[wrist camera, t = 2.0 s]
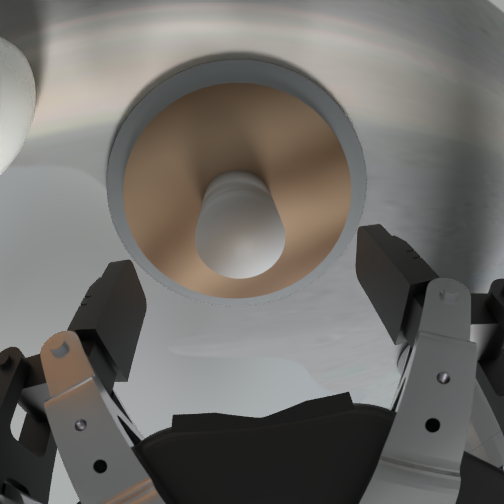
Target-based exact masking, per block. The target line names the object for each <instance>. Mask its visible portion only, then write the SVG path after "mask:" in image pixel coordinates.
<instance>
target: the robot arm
mask: <svg viewBox="0 0 504 504" xmlns="http://www.w3.org/2000/svg"><path fill="white" fill-rule="evenodd" d="M356 274H357V278H358V280H359V282H360V284H361V286H362V287H363V289H364V291H365V293H366V294H367V296H368V298H369V299H370V301H371V303H372V305H373V306H374V308H375V310H376V312H377V313H378V315H379V317H380V319H381V320H382V322H383V324H384V326H385V327H386V329H387V331H388V333H389V335H390V337H391V338H392V340H393V342H394V344H395V345H398V344H402V343H405V342H408V343H409V345H408V346H407V347H406V349H405V350H404V352H403V353H402V355H401V357H400V359H399V361H398V371H399V373H400V375H401V378H400V381H399V384H398V387H397V390H396V393H395V396H394V398H393V401H392V404H391V406H390V408H389V409H386V408H383V407H380V406H375V405H370V404H360V403H353V402H352V400H351V397H350V393H349V392H346V393H342V394H337V395H333V396H328V397H323V398H318V399H314V400H309V401H305V402H302V403H300V404H298V405H295V406H293V407H290V408H288V409H285V410H282V411H280V412H277V413H275V414H272V415H269V416H266V417H262V418H254V417H244V416H236V415H227V414H220V413H203V414H183V415H173V419H172V427H170V428H167V429H164V430H161V431H158V432H156V433H154V434H152V435H150V436H149V437H147V438H144V436H143V435H142V434H141V432H140V431H139V430H138V428H137V427H136V425H135V423H134V422H133V420H132V419H131V417H130V415H129V414H128V412H127V411H126V409H125V407H124V406H123V404H122V402H121V401H120V399H119V397H118V396H117V394H116V392H115V391H114V390H113V386H114V382H127V381H128V378H129V373H130V369H131V365H132V361H133V357H134V353H135V350H136V346H137V342H138V338H139V335H140V331H141V327H142V324H143V320H144V317H145V313H146V298H145V295H144V292H143V290H142V286H141V284H140V281H139V279H138V276H137V273H136V270H135V268H134V265H133V263H132V262H131V260H123V261H117V262H111V263H109V264H108V266H107V268H106V270H105V272H104V273H103V275H102V277H101V278H99V279H98V280H96V282H94V283H93V284H92V285H91V286H90V288H89V290H88V291H87V293H86V295H85V298H84V299H83V301H82V302H81V306H79V308H78V310H77V312H76V314H75V316H74V318H73V320H72V322H71V323H70V325H69V327H68V330H67V331H62V332H59V333H57V334H55V335H53V336H52V337H50V338H49V339H48V340H47V341H46V342H45V343H44V345H43V347H42V349H41V352H40V354H38V355H35V356H31V357H28V358H25V356H24V355H23V354H22V352H21V351H20V350H19V349H18V348H17V347H9V348H7V349H5V350H3V351H2V352H1V353H0V504H48V500H49V492H50V485H51V479H52V472H53V467H54V462H55V457H56V451H57V448H58V451H59V453H60V456H61V458H62V461H63V464H64V466H65V468H66V471H67V473H68V475H69V478H70V480H71V482H72V485H73V487H74V489H75V491H76V493H77V495H78V497H79V500H80V501H79V502H78V503H77V504H504V279H497V280H495V281H493V282H492V284H491V286H490V289H489V292H488V294H470V292H469V290H468V289H467V287H466V286H465V285H463V284H462V283H461V282H459V281H457V280H454V279H451V278H440V277H439V276H438V275H437V274H436V273H435V272H434V271H433V270H432V269H431V267H430V266H429V265H428V264H427V263H426V262H425V261H424V260H423V259H422V258H420V256H419V255H418V254H417V252H416V251H414V249H413V248H412V247H411V246H410V245H409V244H408V243H407V242H406V241H404V240H402V239H400V238H398V237H396V236H391V235H390V234H389V233H388V232H387V231H386V229H385V228H384V227H383V226H382V225H380V224H375V225H368V226H361V227H359V229H358V233H357V252H356ZM17 403H18V404H19V405H20V406H21V407H22V408H23V409H24V410H25V411H26V412H27V414H26V417H25V421H24V424H23V427H22V431H21V434H20V437H19V441H17V440H16V439H15V438H14V437H13V435H12V433H11V429H10V424H11V420H12V417H13V414H14V411H15V408H16V405H17Z"/></svg>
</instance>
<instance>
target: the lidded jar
mask: <svg viewBox="0 0 504 504" xmlns="http://www.w3.org/2000/svg"><path fill="white" fill-rule="evenodd" d="M35 101H36V89H35V80H34V76H33V72H32V70H31V67H30V65H29V62H28V60H27V59H26V57H25V56H24V54H23V53H22V52H21V51H20V50H19V49H18V48H17V47H16V46H15V45H14V44H13V43H11V42H9V41H7V40H5V39H3V38H2V37H0V174H2V173H3V172H4V171H5V169H6V168H7V167H8V166H9V165H10V164H11V163H12V161H13V160H14V158H15V157H16V156H17V154H18V153H19V151H20V150H21V148H22V146H23V144H24V142H25V140H26V137H27V135H28V132H29V130H30V127H31V124H32V120H33V116H34V111H35Z"/></svg>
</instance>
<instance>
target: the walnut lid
mask: <svg viewBox="0 0 504 504" xmlns="http://www.w3.org/2000/svg"><path fill="white" fill-rule="evenodd" d="M123 202H124V211H125V215H126V219H127V223H128V225H129V228H130V231H131V233H132V236H133V237H134V239H135V241H136V243H137V245H138V247H139V248H140V249H141V251H142V252H143V254H144V255H145V256H146V258H147V259H148V260H149V261H150V262H151V263H152V264H153V265H154V266H155V267H156V268H157V269H158V270H159V271H160V272H162V273H163V274H164V275H165V276H167V277H168V278H170V279H171V280H173V281H174V282H176V283H177V284H179V285H181V286H184V287H186V288H188V289H190V290H193V291H195V292H198V293H201V294H205V295H209V296H213V297H221V298H251V297H257V296H262V295H267V294H270V293H273V292H276V291H279V290H281V289H284V288H286V287H288V286H290V285H292V284H294V283H296V282H297V281H299V280H301V279H302V278H304V277H305V276H306V275H308V274H309V273H310V272H312V271H313V270H314V269H315V268H316V267H317V266H318V265H319V264H320V263H321V262H322V261H323V260H324V259H325V258H326V257H327V255H328V254H329V253H330V252H331V250H332V249H333V247H334V246H335V244H336V243H337V241H338V239H339V237H340V235H341V233H342V231H343V229H344V226H345V223H346V220H347V217H348V213H349V208H350V202H351V179H350V171H349V167H348V163H347V159H346V156H345V154H344V151H343V149H342V146H341V144H340V142H339V141H338V139H337V137H336V135H335V134H334V132H333V131H332V129H331V128H330V127H329V125H328V124H327V123H326V122H325V120H324V119H323V118H322V117H321V116H320V115H318V114H317V113H316V112H315V111H314V110H313V109H312V108H311V107H309V106H308V105H306V104H305V103H304V102H302V101H301V100H299V99H297V98H295V97H294V96H292V95H290V94H288V93H286V92H283V91H280V90H278V89H275V88H272V87H269V86H264V85H258V84H253V83H226V84H217V85H213V86H209V87H205V88H201V89H198V90H196V91H193V92H191V93H189V94H186V95H184V96H182V97H181V98H179V99H177V100H176V101H174V102H172V103H171V104H169V105H168V106H167V107H166V108H164V109H163V110H162V111H160V112H159V113H158V114H157V115H156V116H155V117H154V118H153V119H152V120H151V121H150V122H149V124H148V125H147V126H146V127H145V129H144V130H143V131H142V133H141V134H140V136H139V137H138V139H137V141H136V143H135V145H134V147H133V149H132V151H131V153H130V156H129V159H128V162H127V165H126V169H125V175H124V180H123Z"/></svg>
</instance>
